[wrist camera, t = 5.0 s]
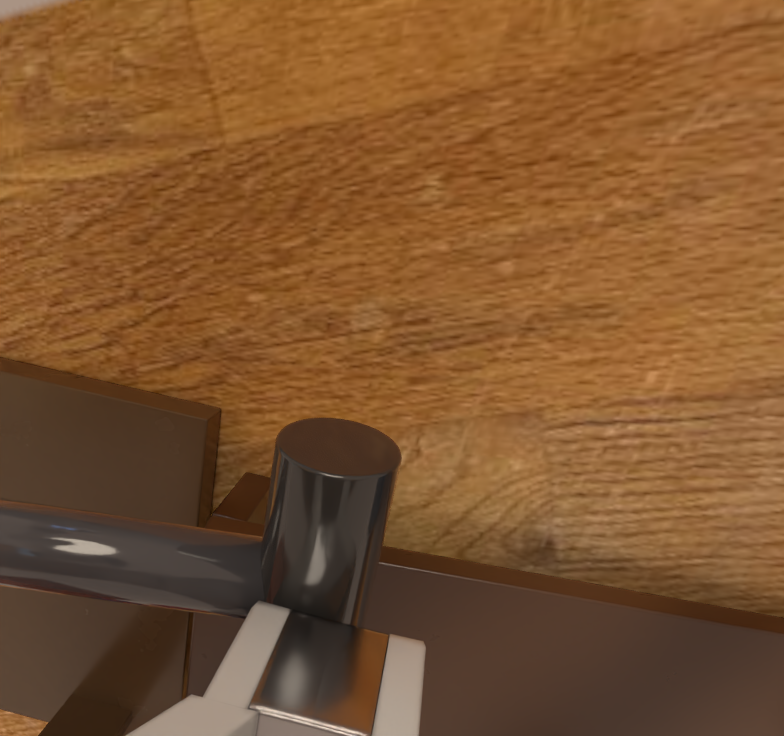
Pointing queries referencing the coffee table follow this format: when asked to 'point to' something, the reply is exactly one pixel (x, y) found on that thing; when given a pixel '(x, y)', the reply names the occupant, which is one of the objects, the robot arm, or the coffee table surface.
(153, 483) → the cup stand
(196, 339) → the coffee table surface
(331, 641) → the robot arm
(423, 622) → the ramp
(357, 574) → the terracotta cup
